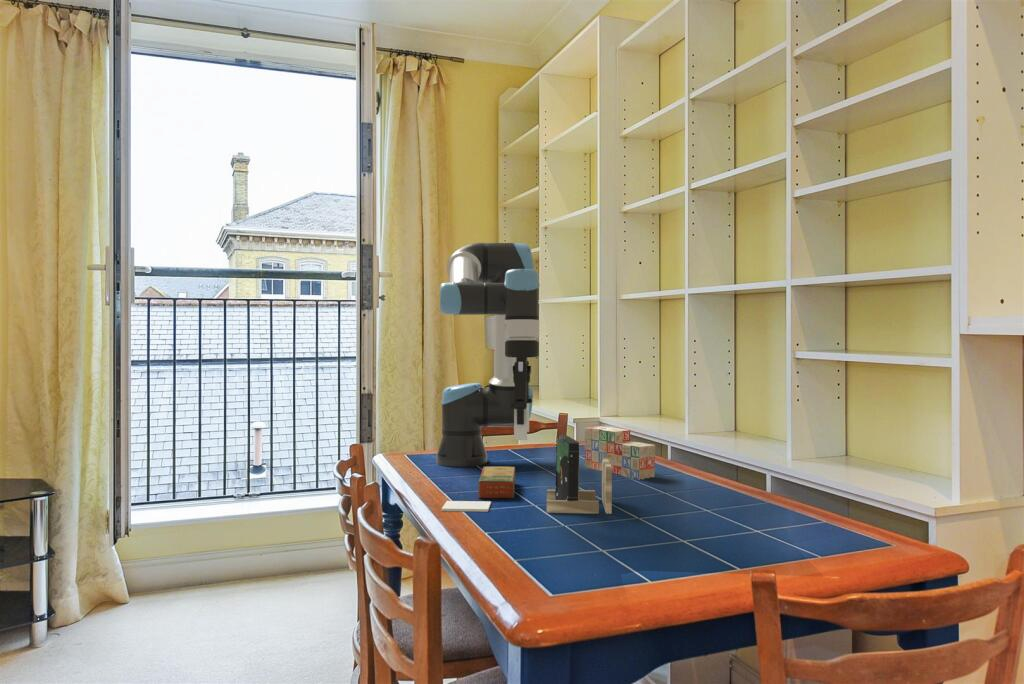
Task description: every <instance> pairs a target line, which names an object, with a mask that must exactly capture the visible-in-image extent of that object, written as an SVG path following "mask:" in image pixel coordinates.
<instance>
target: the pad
mask: <svg viewBox="0 0 1024 684" xmlns="http://www.w3.org/2000/svg"><path fill="white" fill-rule="evenodd" d="M491 505H492V501H489V500H487V501H483V500H482V501H478V500H477V501H475V500H471V501H469V500H446V502H445V503H444V504H443V506H442V507H441V512H472V513H473V512H477V513H478V512H483V513H486V512H487V513H488V512H489V511H490V507H491Z"/></svg>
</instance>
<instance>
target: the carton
mask: <svg viewBox="0 0 1024 684" xmlns="http://www.w3.org/2000/svg"><path fill="white" fill-rule="evenodd" d="M515 484H516V467H515V466H483V467H482V470H481V473H480V477H479V479H478V492H477V495H478V497H477V498H478V499H514V498H515V487H516V486H515Z"/></svg>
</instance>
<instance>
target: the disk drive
mask: <svg viewBox="0 0 1024 684" xmlns="http://www.w3.org/2000/svg"><path fill="white" fill-rule="evenodd" d="M555 446H556V449H555V450H556V451H555V453H556V454H555V455H556V458H555V490H556V494H555V495H556V500H567V501H578V500H579V490H580V466H581V465H580V464H581V463H580V461H581V459H580V458H581V451H580V442H579V441H578V440H576V439H574V438H572V437H570V436H568V435H566V434H561V435H560V434H559V435H556V445H555Z"/></svg>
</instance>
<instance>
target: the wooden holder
mask: <svg viewBox="0 0 1024 684" xmlns="http://www.w3.org/2000/svg"><path fill="white" fill-rule="evenodd" d="M612 475H613V473H612V466H611V464H610V462H609V460H608V458H607V457H602V471H601V501H602V505H603V509H604V512H605V514H606V515H607V514H609V515H610V514H611V515H612V514H613V513H612V511H613V510H612V509H613V506H612V503H613V500H612V499H613V495H612V492H613V489H612V487H613V483H612V481H613V480H612V479H613V478H612V477H613V476H612ZM555 494H556V489H546V513H547V514H599V513H600V509H599V508H600V504H599V503H600V502H599V500H596V499H597V496H596V495H597V492H596V490H594V489H579V500H578V501H567V500H556V495H555Z"/></svg>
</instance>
